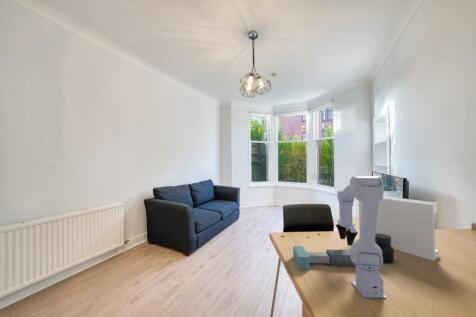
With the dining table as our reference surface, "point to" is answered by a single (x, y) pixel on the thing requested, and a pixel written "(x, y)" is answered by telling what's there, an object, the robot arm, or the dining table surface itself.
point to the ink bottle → (385, 247)
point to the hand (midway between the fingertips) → (346, 242)
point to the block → (408, 225)
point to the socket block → (301, 258)
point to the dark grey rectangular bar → (340, 258)
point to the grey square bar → (319, 257)
